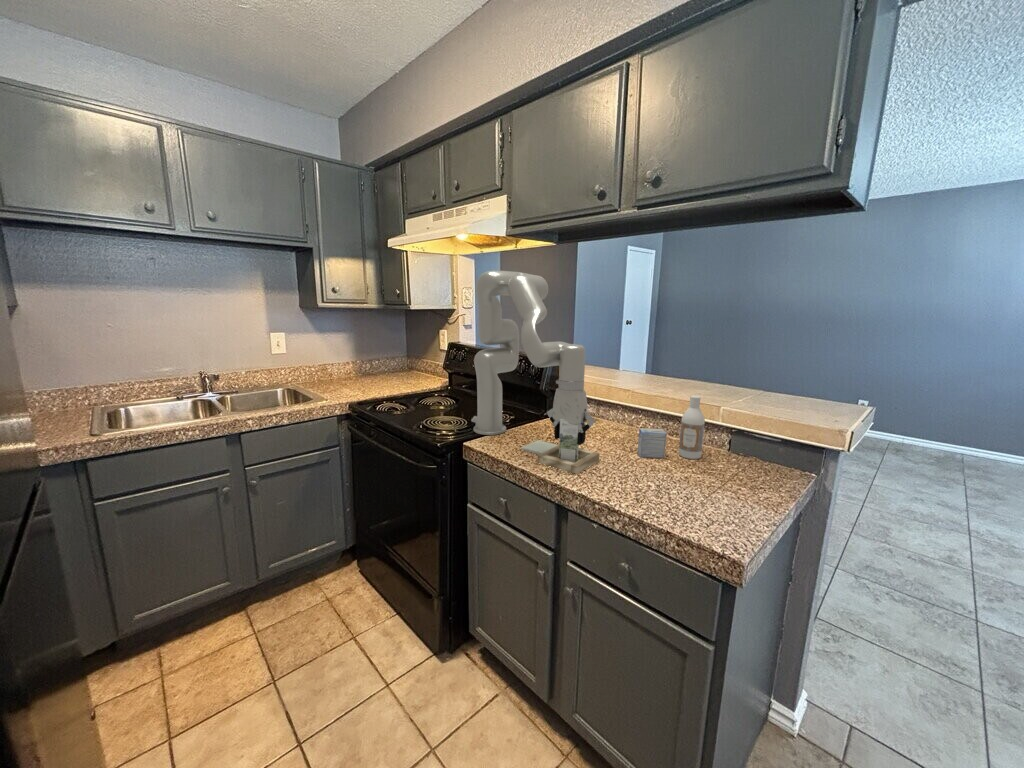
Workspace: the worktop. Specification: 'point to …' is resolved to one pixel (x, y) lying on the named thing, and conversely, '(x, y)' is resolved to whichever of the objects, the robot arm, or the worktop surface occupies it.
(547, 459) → the beige flat square frame
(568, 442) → the syrup box
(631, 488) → the worktop surface
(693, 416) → the bath foam
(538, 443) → the sage tile
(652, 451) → the medicine box
